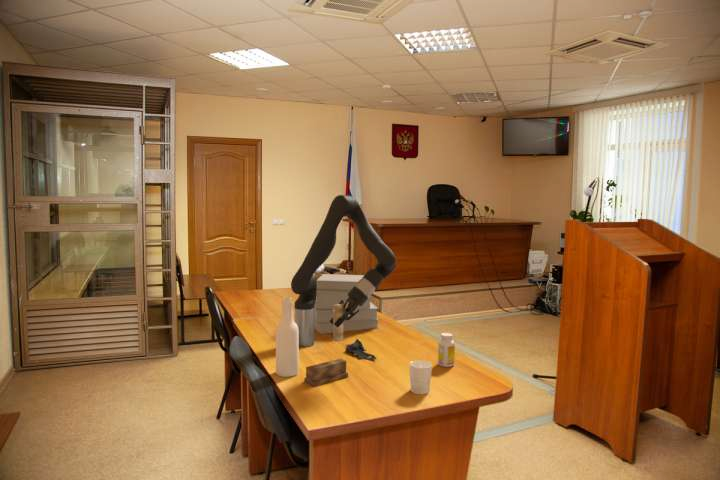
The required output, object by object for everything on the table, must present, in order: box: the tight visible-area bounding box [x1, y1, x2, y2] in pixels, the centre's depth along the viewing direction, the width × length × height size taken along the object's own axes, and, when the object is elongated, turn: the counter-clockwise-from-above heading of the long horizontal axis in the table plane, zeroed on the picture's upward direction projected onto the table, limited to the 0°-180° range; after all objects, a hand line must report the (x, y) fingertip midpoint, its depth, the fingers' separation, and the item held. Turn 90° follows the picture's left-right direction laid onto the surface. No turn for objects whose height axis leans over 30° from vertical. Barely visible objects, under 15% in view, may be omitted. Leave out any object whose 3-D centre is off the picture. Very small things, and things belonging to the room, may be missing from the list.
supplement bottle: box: [437, 332, 456, 368], centre depth 206 cm, size 7×7×13 cm
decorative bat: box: [345, 338, 377, 360], centre depth 222 cm, size 30×4×10 cm
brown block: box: [303, 358, 349, 388], centre depth 189 cm, size 16×6×6 cm, turn 128°
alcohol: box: [275, 296, 300, 378], centre depth 193 cm, size 9×9×30 cm
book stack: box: [314, 273, 380, 335], centre depth 262 cm, size 30×35×26 cm
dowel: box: [332, 304, 344, 343], centre depth 197 cm, size 4×4×14 cm
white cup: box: [409, 360, 433, 395], centre depth 179 cm, size 8×8×10 cm
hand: (333, 324), depth 196 cm, fingers closed on dowel, 4 cm apart
